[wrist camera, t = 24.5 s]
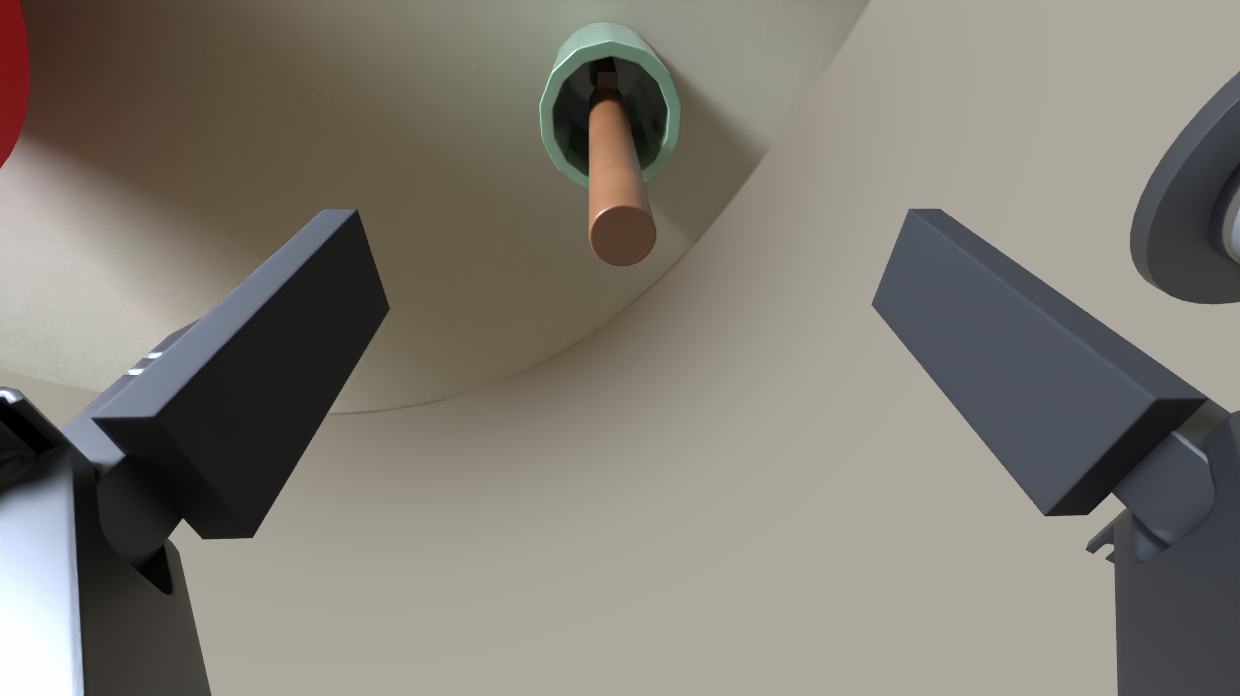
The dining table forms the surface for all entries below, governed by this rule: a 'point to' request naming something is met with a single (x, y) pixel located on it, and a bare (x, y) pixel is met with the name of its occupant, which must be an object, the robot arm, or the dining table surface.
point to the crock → (639, 84)
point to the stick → (615, 178)
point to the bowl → (12, 75)
